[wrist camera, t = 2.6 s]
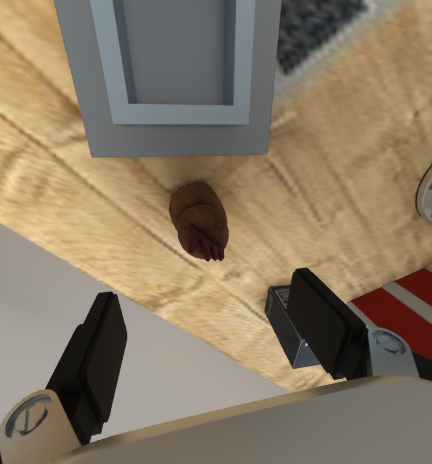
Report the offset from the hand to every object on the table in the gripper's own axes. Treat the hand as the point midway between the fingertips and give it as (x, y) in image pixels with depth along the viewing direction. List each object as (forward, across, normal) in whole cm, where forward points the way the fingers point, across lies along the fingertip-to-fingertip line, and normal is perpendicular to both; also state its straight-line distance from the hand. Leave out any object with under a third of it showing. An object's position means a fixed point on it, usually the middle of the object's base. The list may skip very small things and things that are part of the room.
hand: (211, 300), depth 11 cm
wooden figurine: (+18, -1, 0) cm, 18 cm away
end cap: (+18, 0, -15) cm, 24 cm away
